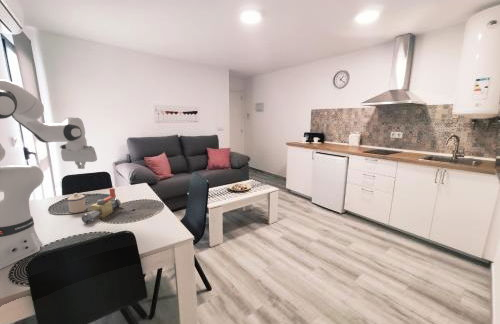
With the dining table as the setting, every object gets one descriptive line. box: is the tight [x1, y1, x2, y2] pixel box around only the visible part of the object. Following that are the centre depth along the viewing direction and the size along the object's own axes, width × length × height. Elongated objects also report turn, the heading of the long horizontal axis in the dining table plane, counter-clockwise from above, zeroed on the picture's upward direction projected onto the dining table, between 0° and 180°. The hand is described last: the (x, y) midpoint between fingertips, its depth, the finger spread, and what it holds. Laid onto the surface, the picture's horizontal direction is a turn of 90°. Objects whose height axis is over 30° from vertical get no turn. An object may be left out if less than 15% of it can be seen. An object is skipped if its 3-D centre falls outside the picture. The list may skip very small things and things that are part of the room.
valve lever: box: [96, 187, 117, 204], centre depth 136 cm, size 13×4×6 cm, turn 173°
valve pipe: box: [81, 198, 122, 224], centre depth 134 cm, size 24×7×8 cm, turn 173°
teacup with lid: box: [66, 192, 87, 214], centre depth 140 cm, size 12×9×12 cm
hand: (81, 168), depth 130 cm, fingers closed
